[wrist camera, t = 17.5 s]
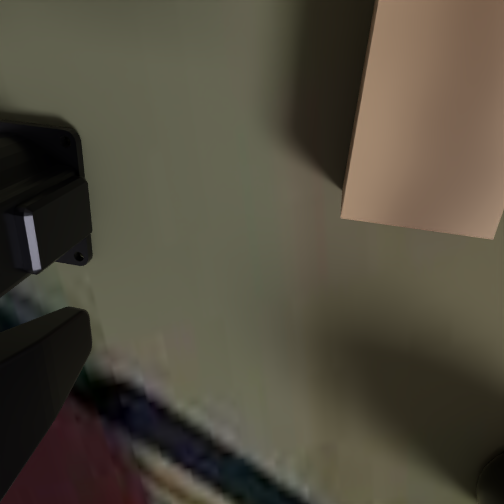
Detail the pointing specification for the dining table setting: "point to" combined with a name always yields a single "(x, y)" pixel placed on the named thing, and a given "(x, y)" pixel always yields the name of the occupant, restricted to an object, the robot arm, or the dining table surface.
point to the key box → (430, 119)
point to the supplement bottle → (491, 482)
